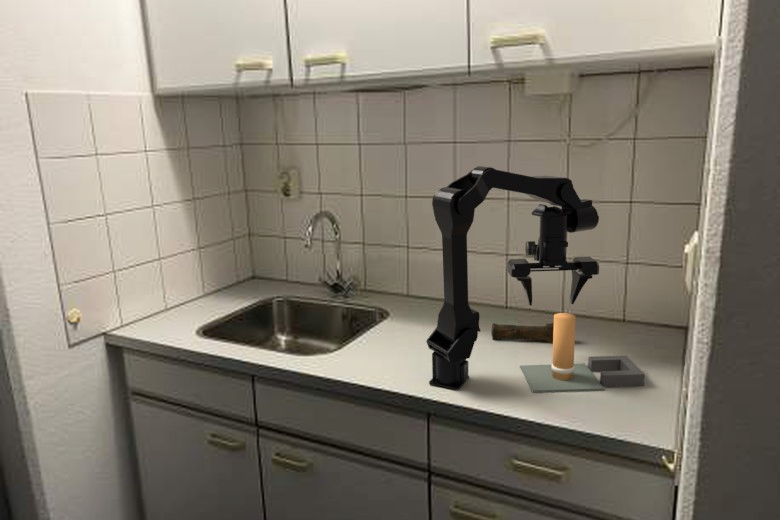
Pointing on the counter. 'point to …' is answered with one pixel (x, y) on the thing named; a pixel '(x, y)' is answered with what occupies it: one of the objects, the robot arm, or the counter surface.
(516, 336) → the wooden log
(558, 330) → the orange peg
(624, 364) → the dark grey piece
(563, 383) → the mat
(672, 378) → the counter surface
